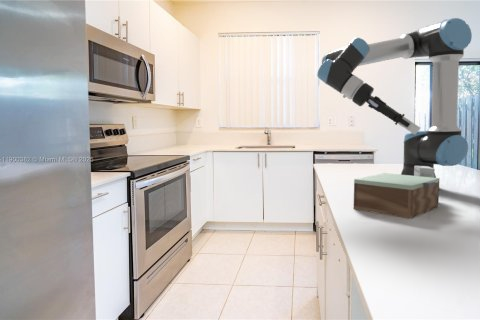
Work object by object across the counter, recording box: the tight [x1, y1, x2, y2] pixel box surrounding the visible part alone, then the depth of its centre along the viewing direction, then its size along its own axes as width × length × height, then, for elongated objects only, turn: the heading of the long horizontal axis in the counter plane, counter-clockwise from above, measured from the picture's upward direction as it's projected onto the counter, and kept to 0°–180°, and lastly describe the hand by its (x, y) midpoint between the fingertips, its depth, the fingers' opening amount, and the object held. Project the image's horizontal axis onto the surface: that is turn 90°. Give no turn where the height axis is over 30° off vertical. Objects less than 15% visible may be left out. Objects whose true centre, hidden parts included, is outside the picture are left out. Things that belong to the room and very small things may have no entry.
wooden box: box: [353, 181, 440, 219], centre depth 126 cm, size 21×18×8 cm
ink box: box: [414, 166, 435, 178], centre depth 138 cm, size 9×5×12 cm, turn 168°
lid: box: [353, 172, 440, 190], centre depth 125 cm, size 21×20×1 cm
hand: (417, 131), depth 130 cm, fingers closed
